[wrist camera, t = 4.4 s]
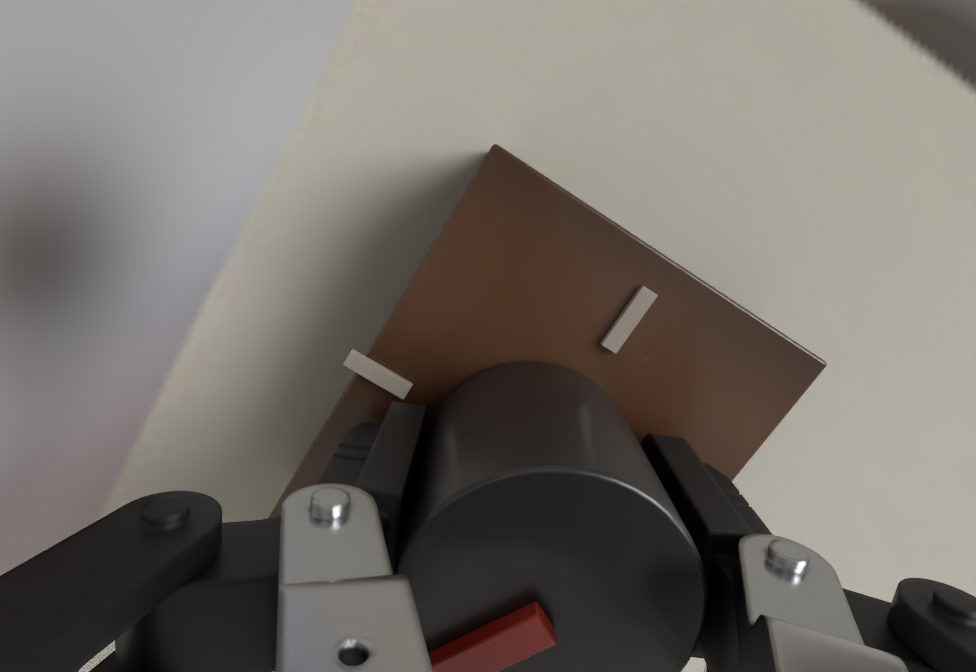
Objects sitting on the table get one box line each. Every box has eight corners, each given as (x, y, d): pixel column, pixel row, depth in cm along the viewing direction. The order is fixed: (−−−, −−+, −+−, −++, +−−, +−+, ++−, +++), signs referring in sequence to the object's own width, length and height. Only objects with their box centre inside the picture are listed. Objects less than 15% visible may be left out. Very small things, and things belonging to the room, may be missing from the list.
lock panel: (481, 141, 14) (480, 132, 11) (773, 333, 15) (845, 374, 12) (283, 473, 16) (236, 544, 13) (551, 616, 17) (564, 712, 14)
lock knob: (570, 321, 12) (624, 418, 7) (668, 494, 13) (770, 678, 8) (382, 425, 12) (320, 576, 8) (489, 582, 13) (490, 800, 9)
